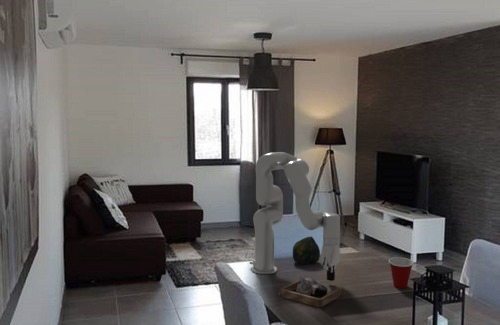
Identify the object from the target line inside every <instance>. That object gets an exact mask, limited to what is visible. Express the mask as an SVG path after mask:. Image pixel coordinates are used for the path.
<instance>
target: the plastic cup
mask: <svg viewBox="0 0 500 325" xmlns="http://www.w3.org/2000/svg"><path fill="white" fill-rule="evenodd" d="M414 263H415V262H414V261H413V260H412V259H410V258H406V257H402V256H401V257H396V256H395V257H392V258H389V259H388V264H389V265H390V269H391V270H390V271H391V278H392V283H393V287H394V288H396V289H397V288H398V289H406V288H408V284H409V281H410V275H411V271H412V267H413V265H414Z"/></svg>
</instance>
